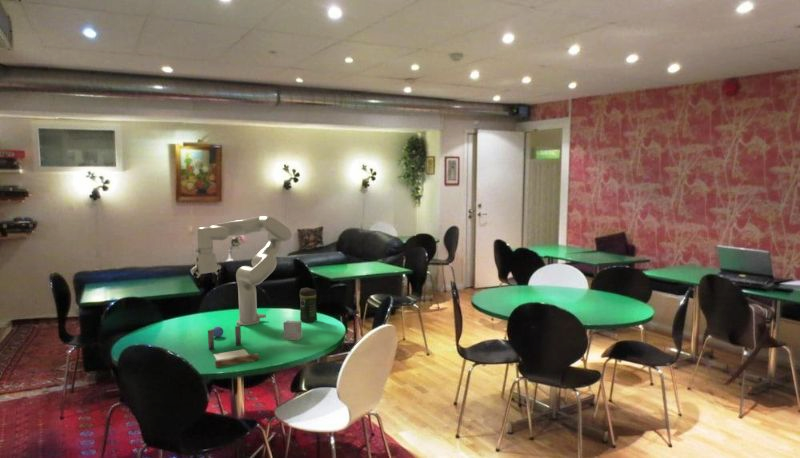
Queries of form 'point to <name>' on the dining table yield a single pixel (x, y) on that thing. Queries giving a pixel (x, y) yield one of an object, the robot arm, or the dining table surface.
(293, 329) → the medicine box
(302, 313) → the coffee jar
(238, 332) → the post
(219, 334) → the ball
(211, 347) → the post
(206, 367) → the dining table surface
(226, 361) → the stopper wall
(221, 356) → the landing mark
